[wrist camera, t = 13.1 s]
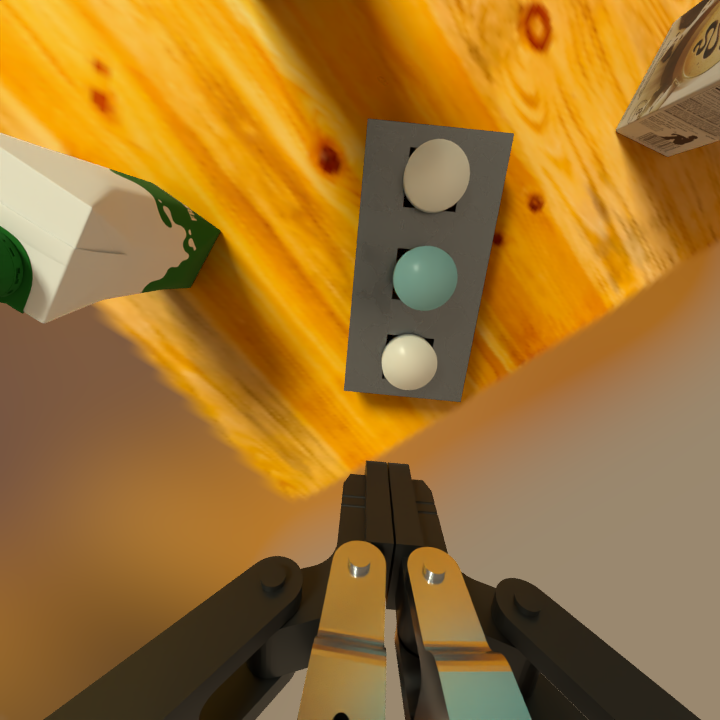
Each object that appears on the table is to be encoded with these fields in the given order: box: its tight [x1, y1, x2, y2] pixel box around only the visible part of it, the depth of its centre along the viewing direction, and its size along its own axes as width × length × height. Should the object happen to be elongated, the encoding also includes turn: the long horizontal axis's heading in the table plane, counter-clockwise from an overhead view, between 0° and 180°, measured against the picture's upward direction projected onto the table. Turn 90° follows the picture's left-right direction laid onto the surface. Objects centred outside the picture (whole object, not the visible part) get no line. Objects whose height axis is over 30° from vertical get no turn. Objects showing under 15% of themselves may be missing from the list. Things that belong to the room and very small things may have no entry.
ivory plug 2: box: [381, 334, 437, 390], centre depth 35 cm, size 5×5×6 cm
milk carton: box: [0, 133, 221, 323], centre depth 26 cm, size 9×9×20 cm
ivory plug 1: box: [403, 139, 470, 213], centre depth 30 cm, size 5×5×6 cm
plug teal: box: [393, 246, 458, 311], centre depth 31 cm, size 5×5×6 cm
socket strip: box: [344, 119, 514, 402], centre depth 34 cm, size 24×12×5 cm, turn 175°
